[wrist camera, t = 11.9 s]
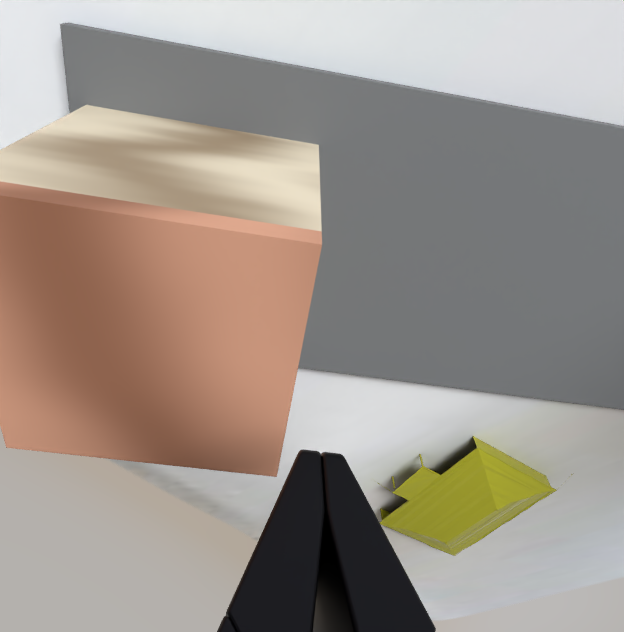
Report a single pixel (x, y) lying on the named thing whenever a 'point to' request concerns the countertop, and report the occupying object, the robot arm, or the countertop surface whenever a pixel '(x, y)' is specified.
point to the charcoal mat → (418, 215)
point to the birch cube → (154, 289)
